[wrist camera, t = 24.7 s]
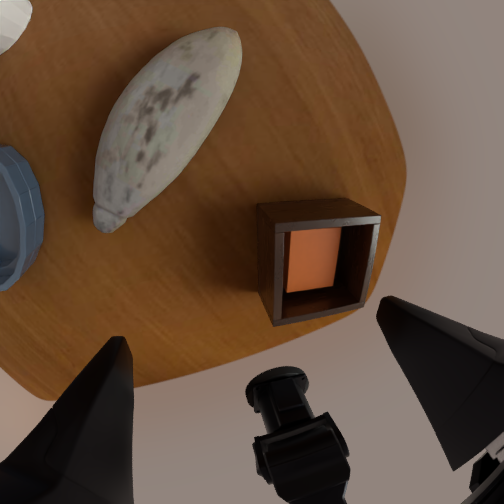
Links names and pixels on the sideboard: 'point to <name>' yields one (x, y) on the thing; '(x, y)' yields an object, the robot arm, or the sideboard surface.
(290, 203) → the holder
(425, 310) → the robot arm
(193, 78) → the decorative stone
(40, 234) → the bowl
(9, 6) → the shot glass
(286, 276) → the orange block
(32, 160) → the sideboard surface
